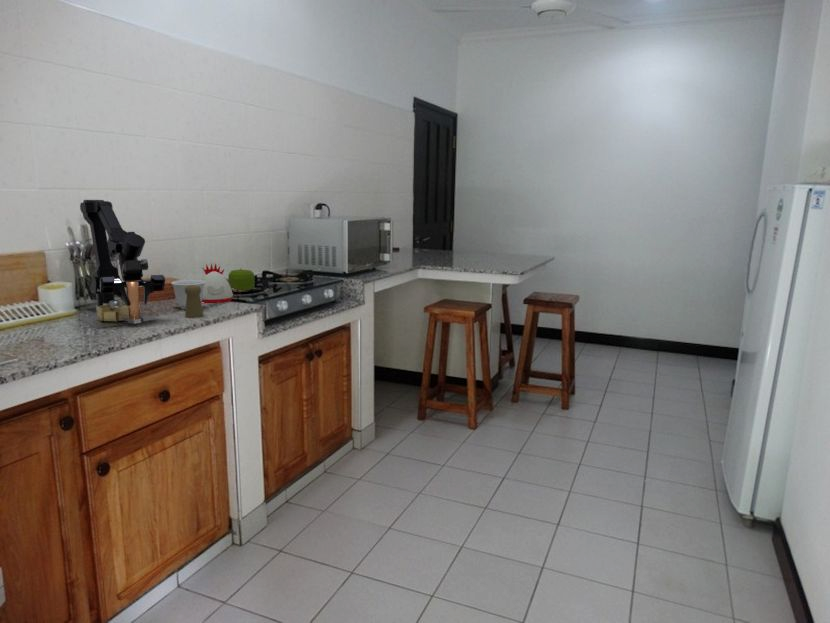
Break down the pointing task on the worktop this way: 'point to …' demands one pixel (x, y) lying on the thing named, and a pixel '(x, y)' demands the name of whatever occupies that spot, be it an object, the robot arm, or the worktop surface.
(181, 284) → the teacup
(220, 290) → the kitchen timer
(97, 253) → the robot arm
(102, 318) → the copper cylinder with bracket
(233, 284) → the apple
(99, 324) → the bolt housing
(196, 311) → the pepper mill
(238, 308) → the worktop surface
